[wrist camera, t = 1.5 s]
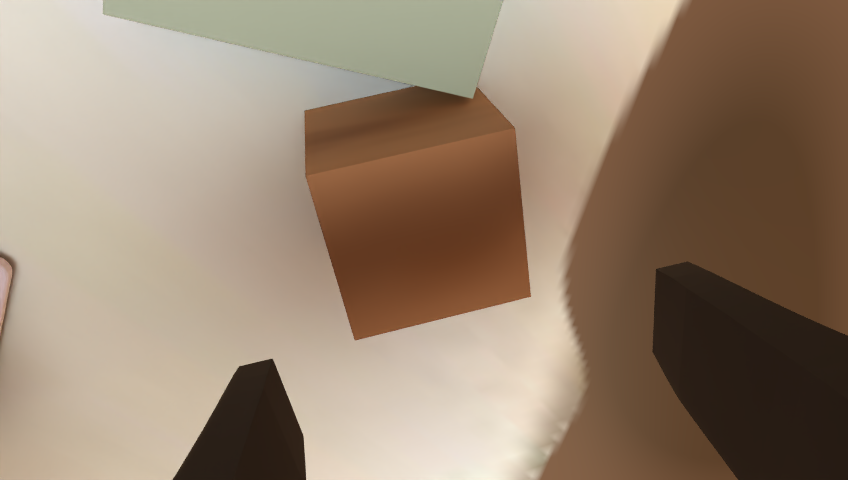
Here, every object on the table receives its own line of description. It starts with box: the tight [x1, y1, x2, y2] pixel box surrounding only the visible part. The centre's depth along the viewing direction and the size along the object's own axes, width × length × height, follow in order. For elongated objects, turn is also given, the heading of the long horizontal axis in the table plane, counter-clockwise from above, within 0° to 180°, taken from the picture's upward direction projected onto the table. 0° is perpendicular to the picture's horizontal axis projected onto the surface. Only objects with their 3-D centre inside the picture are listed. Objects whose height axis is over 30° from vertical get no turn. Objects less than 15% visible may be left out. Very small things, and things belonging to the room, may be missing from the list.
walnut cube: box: [305, 86, 531, 340], centre depth 17 cm, size 5×5×5 cm
